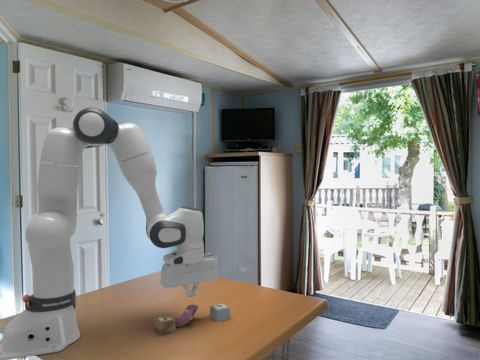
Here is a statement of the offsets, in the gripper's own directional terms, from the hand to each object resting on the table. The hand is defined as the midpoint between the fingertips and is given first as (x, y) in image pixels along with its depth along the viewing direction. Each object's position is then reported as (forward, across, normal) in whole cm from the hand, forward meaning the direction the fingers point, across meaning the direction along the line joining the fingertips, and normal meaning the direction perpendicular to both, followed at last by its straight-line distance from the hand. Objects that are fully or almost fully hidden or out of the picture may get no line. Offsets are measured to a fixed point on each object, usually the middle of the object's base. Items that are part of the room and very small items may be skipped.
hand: (191, 296), depth 124 cm
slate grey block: (+9, -10, +2) cm, 13 cm away
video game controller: (+9, +1, -1) cm, 9 cm away
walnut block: (+9, +10, +2) cm, 14 cm away
